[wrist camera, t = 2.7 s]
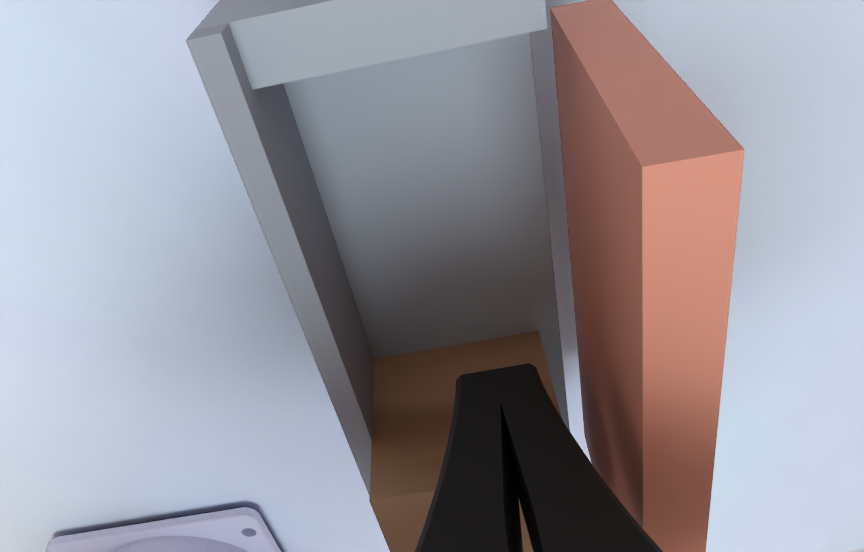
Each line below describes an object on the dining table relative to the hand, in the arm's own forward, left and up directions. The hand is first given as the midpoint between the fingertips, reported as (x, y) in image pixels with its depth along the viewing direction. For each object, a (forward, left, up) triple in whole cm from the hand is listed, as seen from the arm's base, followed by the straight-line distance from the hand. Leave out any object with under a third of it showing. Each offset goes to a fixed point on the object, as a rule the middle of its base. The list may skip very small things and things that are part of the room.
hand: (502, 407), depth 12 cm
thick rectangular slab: (0, -3, -4) cm, 5 cm away
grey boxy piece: (0, +1, -7) cm, 7 cm away
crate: (-4, +1, -4) cm, 5 cm away
